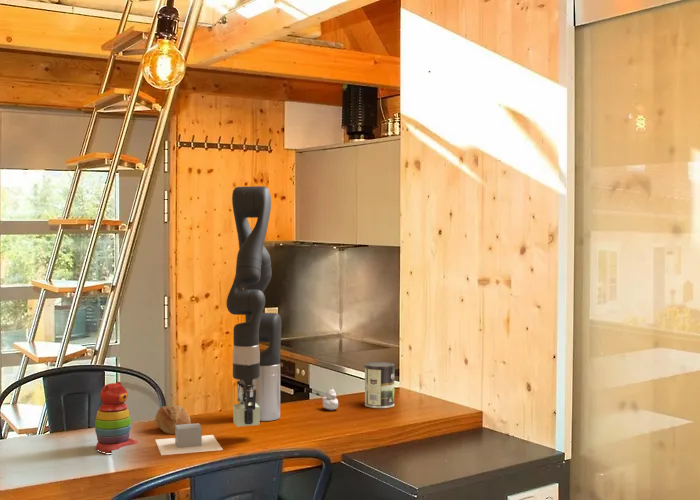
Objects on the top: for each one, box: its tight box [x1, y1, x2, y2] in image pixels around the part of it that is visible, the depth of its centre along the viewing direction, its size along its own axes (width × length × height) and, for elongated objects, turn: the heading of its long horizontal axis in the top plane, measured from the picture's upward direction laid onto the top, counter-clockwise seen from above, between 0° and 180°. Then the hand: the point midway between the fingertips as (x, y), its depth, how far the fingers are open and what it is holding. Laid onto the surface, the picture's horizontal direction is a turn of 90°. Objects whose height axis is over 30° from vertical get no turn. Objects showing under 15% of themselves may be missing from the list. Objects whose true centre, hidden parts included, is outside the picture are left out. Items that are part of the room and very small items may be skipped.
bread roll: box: [154, 404, 192, 435], centre depth 234 cm, size 10×15×8 cm, turn 28°
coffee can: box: [364, 361, 396, 409], centre depth 271 cm, size 10×10×14 cm
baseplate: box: [154, 434, 224, 456], centre depth 217 cm, size 16×16×1 cm
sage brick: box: [232, 402, 261, 428], centre depth 223 cm, size 6×5×5 cm
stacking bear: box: [94, 381, 139, 454], centre depth 217 cm, size 11×10×18 cm
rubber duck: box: [322, 386, 339, 411], centre depth 265 cm, size 5×7×8 cm
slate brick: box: [174, 422, 203, 448], centre depth 217 cm, size 6×5×5 cm
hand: (246, 421), depth 223 cm, fingers closed on sage brick, 5 cm apart
